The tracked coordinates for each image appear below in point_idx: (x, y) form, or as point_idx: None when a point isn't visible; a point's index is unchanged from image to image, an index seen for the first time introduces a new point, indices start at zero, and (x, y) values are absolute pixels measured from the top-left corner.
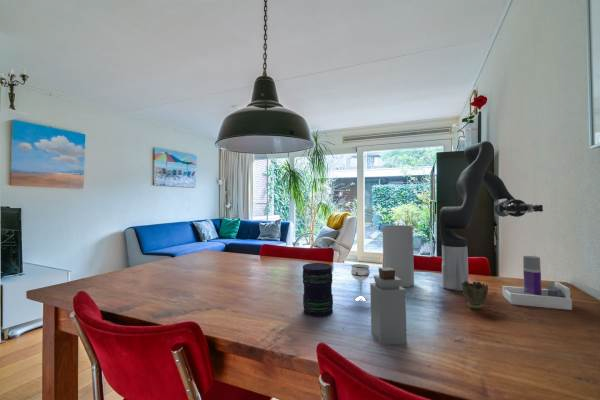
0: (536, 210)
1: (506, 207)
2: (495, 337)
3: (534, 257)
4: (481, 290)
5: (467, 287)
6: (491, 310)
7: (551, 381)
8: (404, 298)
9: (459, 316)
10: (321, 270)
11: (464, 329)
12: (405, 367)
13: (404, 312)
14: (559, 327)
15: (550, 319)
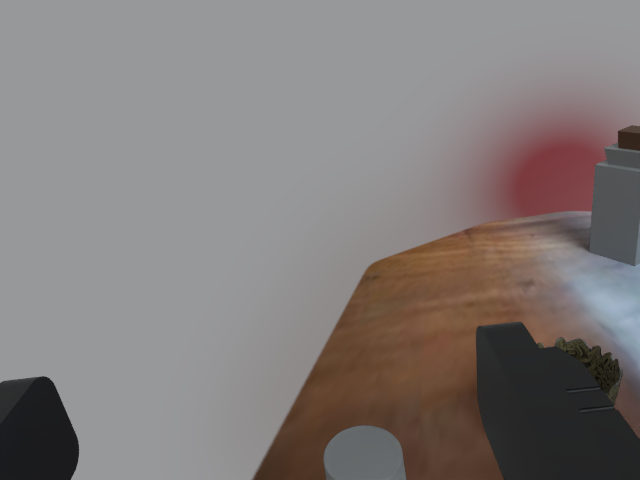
0: (73, 441)
1: (577, 367)
2: (476, 313)
3: (350, 444)
4: None
5: (583, 346)
6: None
7: (405, 263)
8: (595, 179)
9: None
10: None
11: (535, 315)
12: (552, 225)
13: (593, 202)
14: (355, 403)
15: None
